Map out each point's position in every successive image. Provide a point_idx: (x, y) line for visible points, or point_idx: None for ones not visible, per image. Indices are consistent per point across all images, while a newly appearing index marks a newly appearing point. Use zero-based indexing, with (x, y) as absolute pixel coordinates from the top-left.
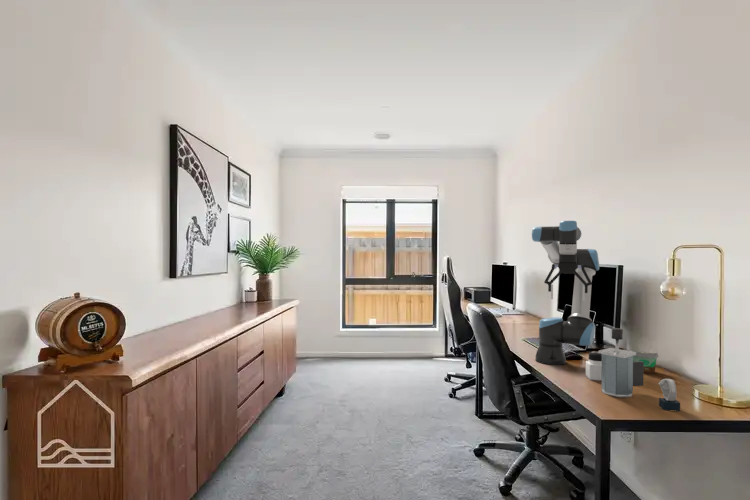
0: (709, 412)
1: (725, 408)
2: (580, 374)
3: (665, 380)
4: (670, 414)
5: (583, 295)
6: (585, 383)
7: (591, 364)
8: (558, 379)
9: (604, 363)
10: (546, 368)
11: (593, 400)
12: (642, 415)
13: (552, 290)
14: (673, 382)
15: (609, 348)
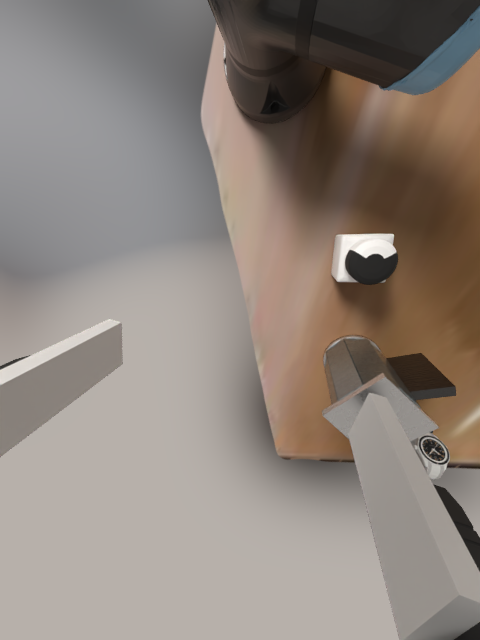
0: (476, 438)
1: None
2: (325, 224)
3: (427, 464)
4: None
5: (364, 480)
6: (310, 304)
7: (342, 280)
8: (257, 284)
9: (332, 401)
10: (246, 181)
11: (289, 397)
12: (340, 448)
13: (55, 413)
14: (433, 478)
15: (374, 388)
